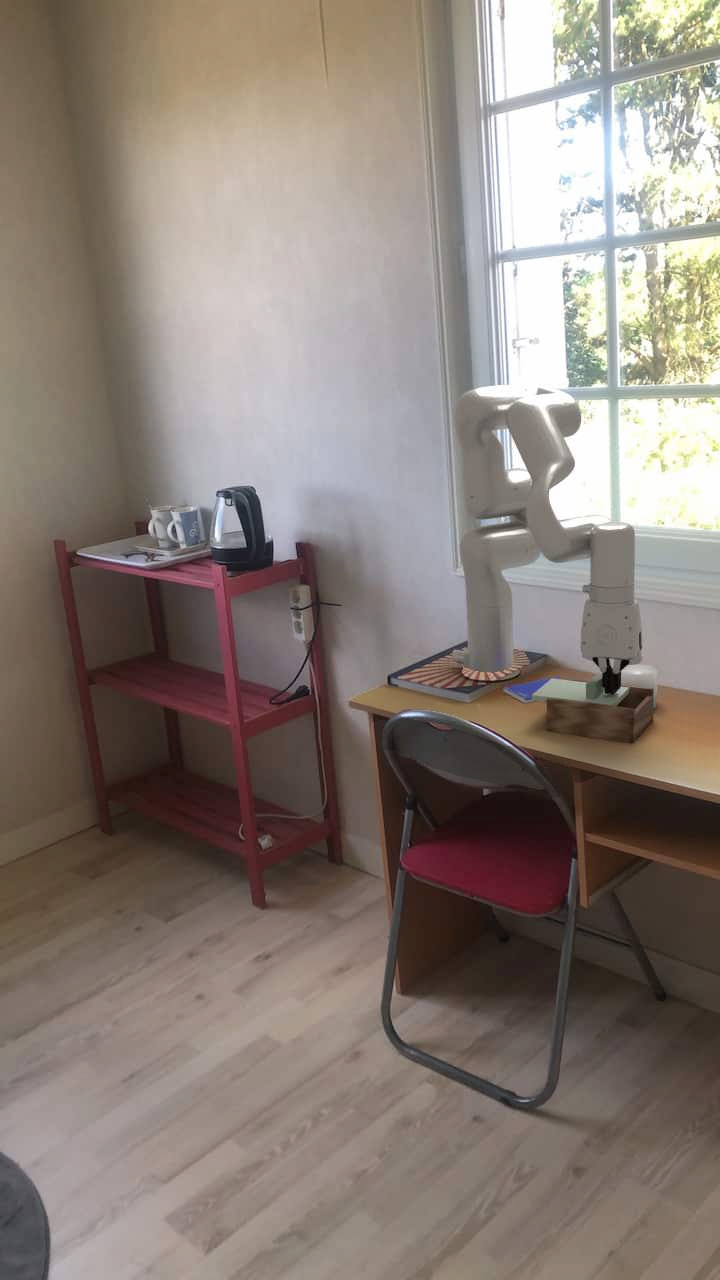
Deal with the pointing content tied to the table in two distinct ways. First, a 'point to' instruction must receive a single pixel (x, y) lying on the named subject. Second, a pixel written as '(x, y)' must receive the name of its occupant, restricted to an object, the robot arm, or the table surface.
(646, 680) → the white round canister
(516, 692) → the blue book
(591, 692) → the lid
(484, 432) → the robot arm
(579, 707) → the walnut box
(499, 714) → the table surface
